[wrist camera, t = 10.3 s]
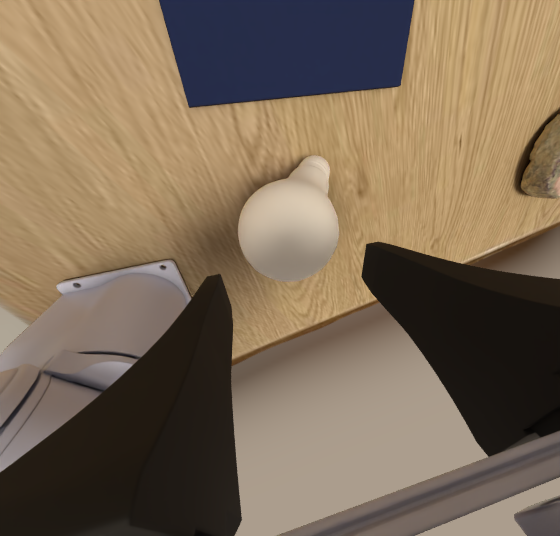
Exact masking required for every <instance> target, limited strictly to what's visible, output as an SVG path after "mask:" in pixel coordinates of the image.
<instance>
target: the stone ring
mask: <svg viewBox="0 0 560 536" xmlns="http://www.w3.org/2000/svg"><path fill="white" fill-rule="evenodd" d="M529 160H530V161H531V162H530V163H529V165H528V166H527V168H526V170H525V172H524V174H523V177H522V182H521V189H522V190H523V191H524V192H526V193H527V194H528V195H530V196H533V197H538V198H552V199H554V198H559V197H560V113H559V114H558V115H556V117H555V118H554V119H553V120H552V121H551V122H550V123H549V124H547V125H546V126H545V129H544V131H543V132H542V133H541V135H540V136H539V138H538V139H537V141H536V142H535V144H534V148H533V150H532V152H531V153H530V158H529Z"/></svg>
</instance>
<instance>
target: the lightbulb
mask: <svg viewBox="0 0 560 536" xmlns="http://www.w3.org/2000/svg"><path fill="white" fill-rule="evenodd" d="M329 174H330V167H329V164H328V163H327V161H326V160H325V159H324V158H322V157H320V156H317V155H311V156H308V157H306V158H305V159H304V160H303V161H302V162H301V163H300V165H299V166H298V168H296V169H295V170H294V171H293V172H292V173H291V174H290V176H289V177H288V178H287V179H281V180H278V181H274V182H271V183H269V184H266V185H264V186H263V187H261V188H260V189H258V190H257V191H256V192H255V193H253V194H252V196H251V197H250V198H249V199H248V200H247V202H246V203H245V205H244V207H243V209H242V212H241V215H240V218H239V225H238V237H239V243H240V247H241V249H242V252H243V254H244V256H245V258H246V259H247V261H248V262H249V263H250V264H251V265H252V267H253V268H254V269H255V270H257V271H258V272H259V273H261V274H262V275H264V276H266V277H268V278H271V279H274V280H277V281H283V282H291V281H300V280H303V279H306V278H308V277H310V276H312V275H314V274H315V273H317V272H318V271H320V270H321V269H322V268H323V267H324V266H325V265H326V264H327V263H328V261H329V260H330V259H331V257H332V255H333V253H334V251H335V249H336V247H337V242H338V237H339V226H338V217H337V214H336V212H335V209H334V207H333V205H332V203H331V201H330V200H329V198H328V197H327V194H328V190H329V184H328V180H329Z"/></svg>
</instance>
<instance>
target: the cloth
mask: <svg viewBox="0 0 560 536" xmlns="http://www.w3.org/2000/svg"><path fill="white" fill-rule="evenodd" d="M159 2H160V5H161V9H162V12H163V16H164V20H165V23H166V27H167V30H168V34H169V37H170V41H171V45H172V48H173V52H174V55H175V59H176V63H177V66H178V70H179V73H180V77H181V80H182V84H183V88H184V91H185V95H186V98H187V102H188V105H189V107H199V106H209V105H219V104H229V103H239V102H249V101H259V100H269V99H279V98H289V97H299V96H309V95H319V94H329V93H339V92H349V91H359V90H369V89H378V88H388V87H398V86H400V85H401V79H402V73H403V67H404V61H405V54H406V48H407V42H408V36H409V30H410V24H411V18H412V11H413V5H414V0H159Z"/></svg>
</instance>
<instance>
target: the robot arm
mask: <svg viewBox="0 0 560 536" xmlns="http://www.w3.org/2000/svg"><path fill="white" fill-rule="evenodd" d="M161 265H165V266H166V268H163V267H162V266H161ZM362 279H363V281H364V282H365V284H366V285H367V287H368V288H369V290H370V291H371V293H372V294H373V295H374V296H375V297H376V298H377V300H378V301H379V302H380V303H381V304H382V305H383V306H384V307H385V309H386V310H387V311H388V312H389V313H390V314H391V315H392V316H393V317H394V318H395V320H396V321H397V322H398V323H399V324H400V325H401V326H402V327H403V328H404V330H405V331H406V332H407V333H408V334H409V336H410V337H411V339H412V340H413V341H414V343H415V344H416V345H417V347H418V348H419V350H420V351H421V352H422V354H423V355H424V356H425V358H426V360H427V361H428V362H429V364H430V365H431V367H432V368H433V370H434V371H435V372H436V374H437V376H438V377H439V379H440V381H441V382H442V384H443V385H444V387H445V388H446V390H447V391H448V393H449V395H450V396H451V398H452V399H453V401H454V403H455V404H456V406H457V408H458V410H459V412H460V413H461V415H462V417H463V418H464V420H465V422H466V424H467V425H468V427H469V429H470V431H471V433H472V434H473V436H474V438H475V440H476V442H477V443H478V444H479V445H480V447H481V448H482V449H483V450H484V452H485V453H486V454H487V455H488V456H489V457H488V458H485V459H482V460H479V461H477V462H474V463H471V464H469V465H466V466H463V467H461V468H458V469H455V470H452V471H450V472H447V473H444V474H442V475H439V476H437V477H434V478H431V479H428V480H426V481H423V482H420V483H417V484H415V485H412V486H409V487H407V488H404V489H401V490H398V491H396V492H393V493H391V494H388V495H385V496H382V497H380V498H377V499H374V500H372V501H369V502H366V503H363V504H361V505H358V506H355V507H353V508H350V509H347V510H345V511H342V512H339V513H336V514H334V515H331V516H328V517H326V518H323V519H320V520H318V521H315V522H312V523H309V524H307V525H304V526H301V527H299V528H296V529H293V530H291V531H288V532H285V533H282V534H280V535H277V536H415V535H417V534H420V533H422V532H425V531H427V530H430V529H432V528H435V527H437V526H440V525H442V524H445V523H447V522H450V521H452V520H455V519H457V518H460V517H462V516H465V515H467V514H469V513H472V512H474V511H477V510H479V509H482V508H484V507H487V506H489V505H492V504H494V503H497V502H499V501H501V500H504V499H507V498H509V497H511V496H514V495H516V494H519V493H521V492H524V491H526V490H529V489H531V488H534V487H536V486H539V485H541V484H544V483H546V482H549V481H551V480H553V479H556V478H559V477H560V279H553V278H544V277H536V276H529V275H522V274H515V273H508V272H502V271H496V270H490V269H485V268H480V267H475V266H470V265H465V264H461V263H456V262H452V261H448V260H444V259H440V258H437V257H433V256H429V255H426V254H422V253H419V252H415V251H412V250H408V249H405V248H401V247H398V246H394V245H391V244H386V243H382V242H374V243H369V244H366V250H365V257H364V263H363V270H362ZM76 283H79V284H80V285H78V284H76ZM57 289H58V290H59V291H60V292H61V294H62V296H61V297H60V298H59V299H58V300H56V301H55V302H54V303H53V304H52V305H51V306H50V307H49V308H48V309H47V310H46V311H45V312H44V313H43V314H42V315H40V316H39V317H38V318H37V319H36V320H35V321H34V322H33V323H32V324H31V325H30V326H29V327H28V328H27V329H25V330H24V331H23V332H22V334H20V335H19V336H18V337H17V338H16V339H15V340H14V341H13V342H12V343H10V344H9V346H7V348H6V349H5V350H4V351H3V352H2V354H1V355H0V536H234V535H235V533H236V531H237V529H238V527H239V525H240V522H241V520H242V517H241V507H240V496H239V486H238V476H237V463H236V452H235V438H234V424H233V409H232V392H231V363H232V340H233V319H232V308H231V304H230V301H229V298H228V295H227V292H226V289H225V286H224V283H223V280H222V277H221V274H218V275H213V276H208V277H207V278H206V279H205V280H204V282H203V283H202V285H201V286H200V287H199V289H198V290H197V292H196V293H195V295H194V296H193V298H191V296H190V294H189V292H188V290H187V288H186V285H185V283H184V281H183V279H182V277H181V275H180V272H179V270H178V268H177V266H176V264H175V262H174V261H172V260H164V261H159V262H154V263H149V264H144V265H139V266H134V267H130V268H125V269H120V270H115V271H110V272H105V273H100V274H95V275H90V276H85V277H81V278H76V279H71V280H66V281H62V282H60V283H59V284H57ZM514 518H515V521H516V522H517V523H518V524H519V526H520V527H521V528H522V530H523V531H524V533H525V534H526V535H527V536H560V496H557V497H554V498H551V499H548V500H545V501H542V502H539V503H536V504H534V505H531V506H529V507H527V508H525V509H523V510H521V511H519V512H517V513H516V514H514Z"/></svg>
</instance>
